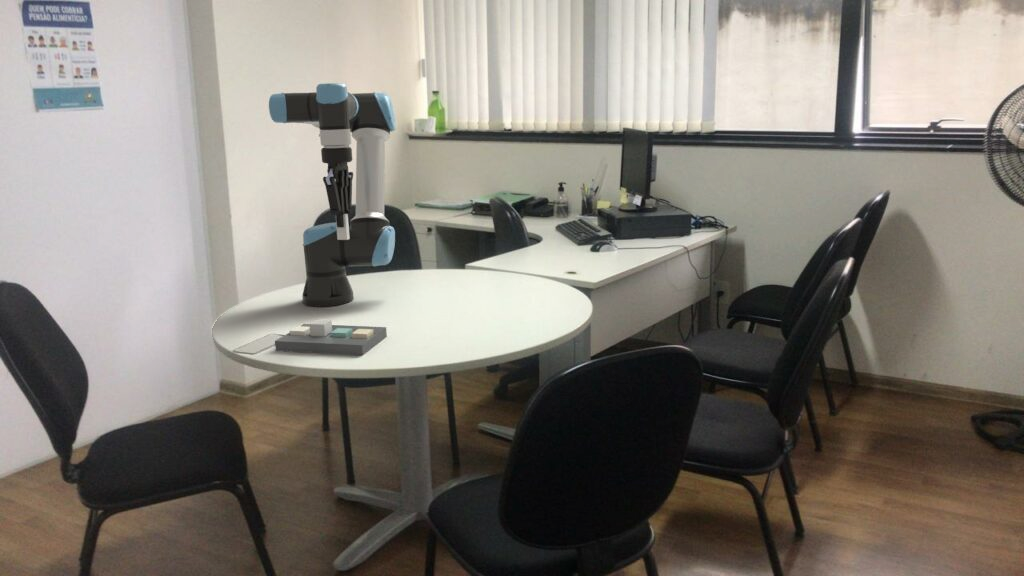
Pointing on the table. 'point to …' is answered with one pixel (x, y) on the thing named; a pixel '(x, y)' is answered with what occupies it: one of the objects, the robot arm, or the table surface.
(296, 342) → the keypad
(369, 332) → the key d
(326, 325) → the key
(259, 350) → the smartphone
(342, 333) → the key
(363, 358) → the table surface
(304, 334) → the key
